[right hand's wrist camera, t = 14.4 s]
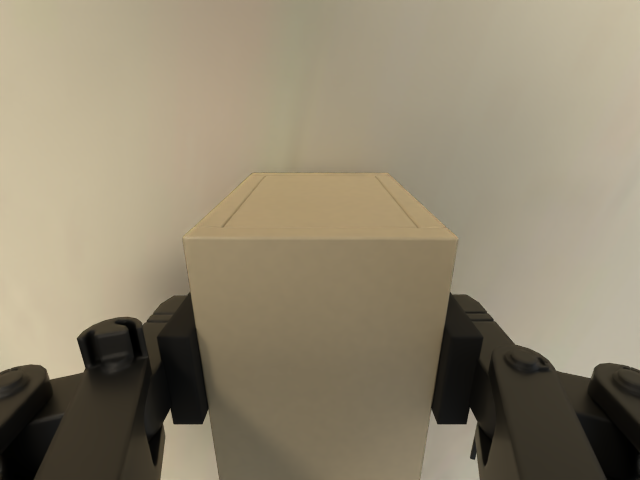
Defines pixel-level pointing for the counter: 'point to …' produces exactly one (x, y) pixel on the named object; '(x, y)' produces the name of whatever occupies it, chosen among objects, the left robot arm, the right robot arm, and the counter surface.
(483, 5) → the counter surface
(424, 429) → the cabinet
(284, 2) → the counter surface
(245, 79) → the counter surface
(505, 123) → the counter surface
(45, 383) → the right robot arm
